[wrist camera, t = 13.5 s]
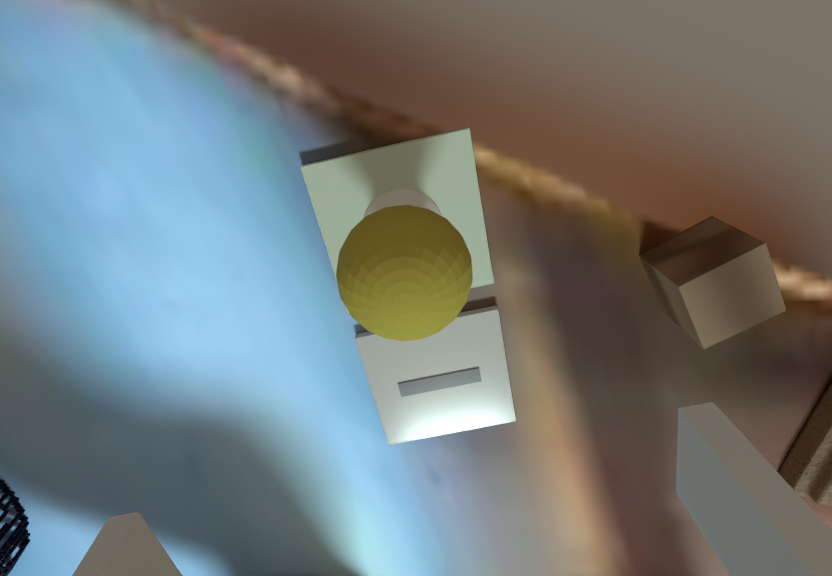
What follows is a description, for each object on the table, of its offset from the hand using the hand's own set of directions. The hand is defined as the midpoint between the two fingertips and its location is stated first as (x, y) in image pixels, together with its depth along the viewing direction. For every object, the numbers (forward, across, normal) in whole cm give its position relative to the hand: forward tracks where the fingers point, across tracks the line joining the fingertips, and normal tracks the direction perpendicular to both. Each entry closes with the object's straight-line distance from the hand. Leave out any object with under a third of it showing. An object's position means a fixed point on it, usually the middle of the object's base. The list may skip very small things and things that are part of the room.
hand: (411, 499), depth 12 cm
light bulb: (+20, 0, 0) cm, 20 cm away
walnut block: (+21, +18, -7) cm, 28 cm away
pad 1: (+21, 0, 0) cm, 21 cm away
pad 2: (+21, 0, -12) cm, 24 cm away
